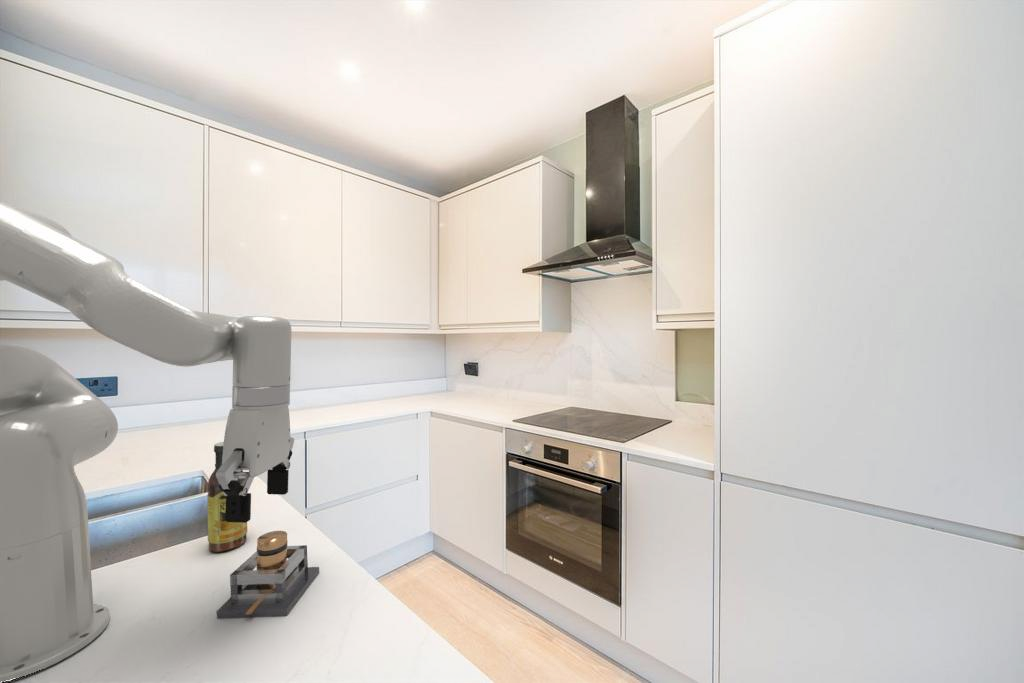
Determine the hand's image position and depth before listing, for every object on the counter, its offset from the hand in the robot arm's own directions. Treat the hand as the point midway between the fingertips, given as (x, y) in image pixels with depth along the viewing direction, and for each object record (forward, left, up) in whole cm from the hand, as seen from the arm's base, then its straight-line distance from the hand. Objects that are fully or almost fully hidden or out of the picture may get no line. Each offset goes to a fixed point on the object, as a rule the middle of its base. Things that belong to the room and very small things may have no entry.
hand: (259, 506), depth 61 cm
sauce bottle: (-16, +15, -14) cm, 26 cm away
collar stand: (+1, 0, -14) cm, 14 cm away
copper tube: (+1, 0, -13) cm, 13 cm away
